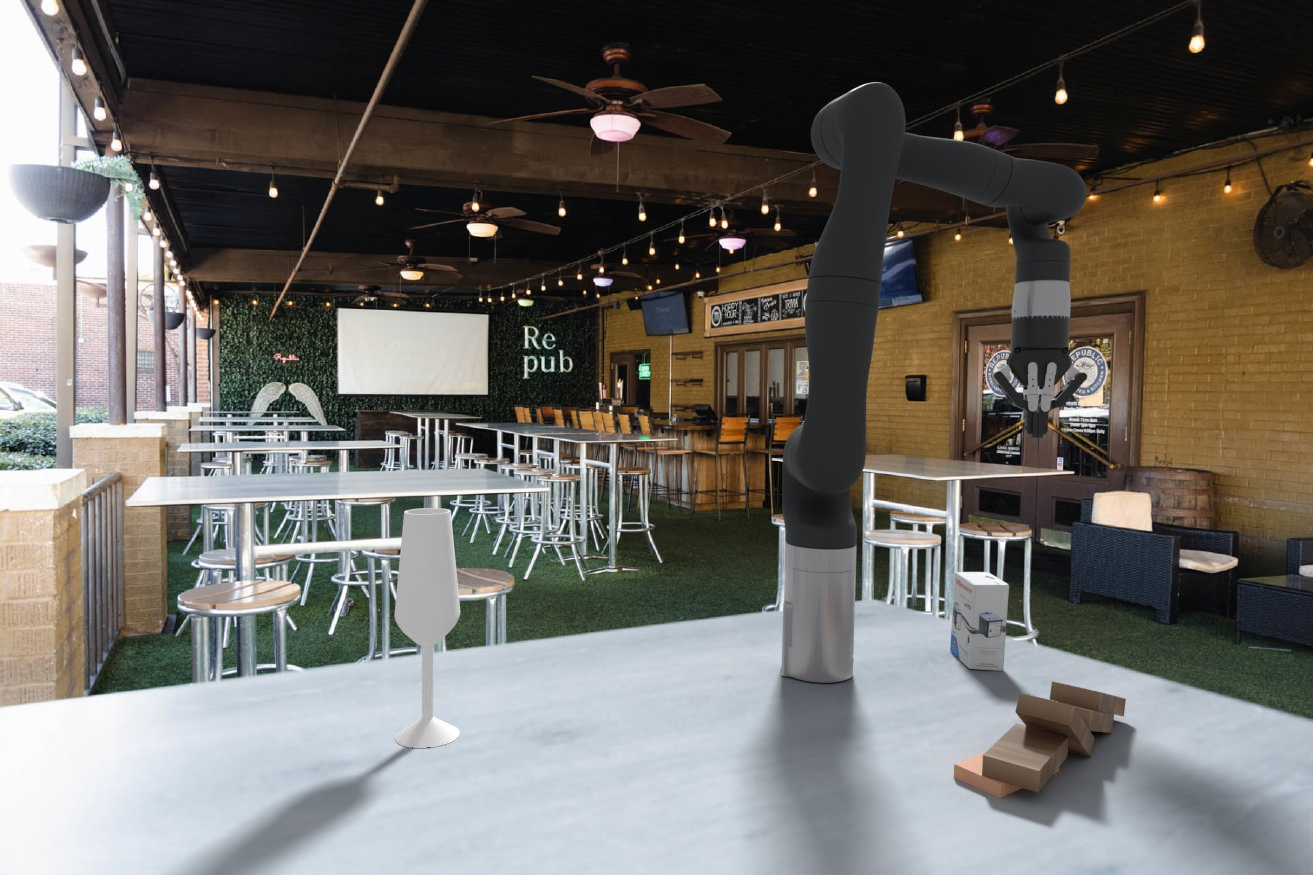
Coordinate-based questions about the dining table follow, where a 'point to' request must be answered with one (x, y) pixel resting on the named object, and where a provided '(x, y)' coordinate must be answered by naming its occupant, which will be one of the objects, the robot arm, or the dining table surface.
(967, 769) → the tile
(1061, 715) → the tile
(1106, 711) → the tile
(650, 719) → the dining table surface
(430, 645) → the champagne flute
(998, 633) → the ink box
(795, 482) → the robot arm
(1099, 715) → the tile
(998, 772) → the tile
